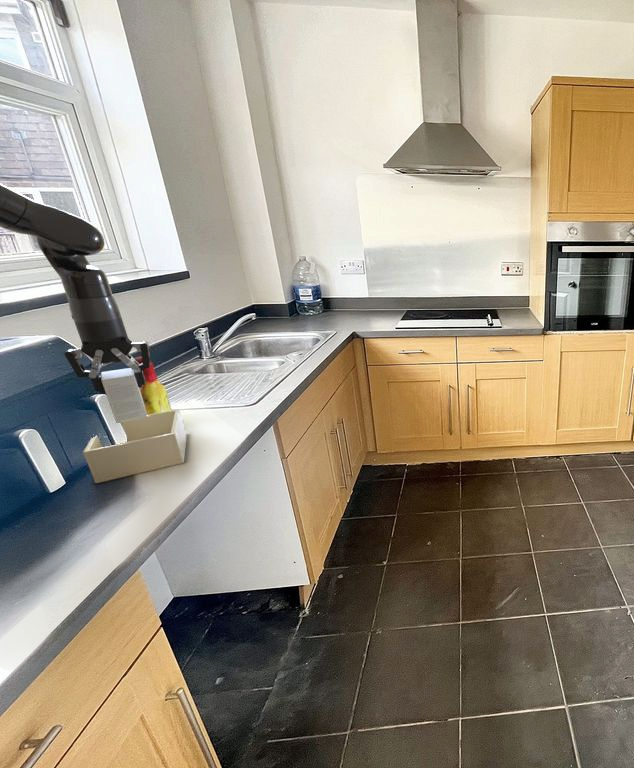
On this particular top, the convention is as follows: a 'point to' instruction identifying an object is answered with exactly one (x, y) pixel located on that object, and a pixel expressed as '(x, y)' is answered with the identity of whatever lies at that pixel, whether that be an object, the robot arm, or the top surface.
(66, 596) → the top surface
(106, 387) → the small box
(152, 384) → the bottle
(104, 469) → the beige open box
